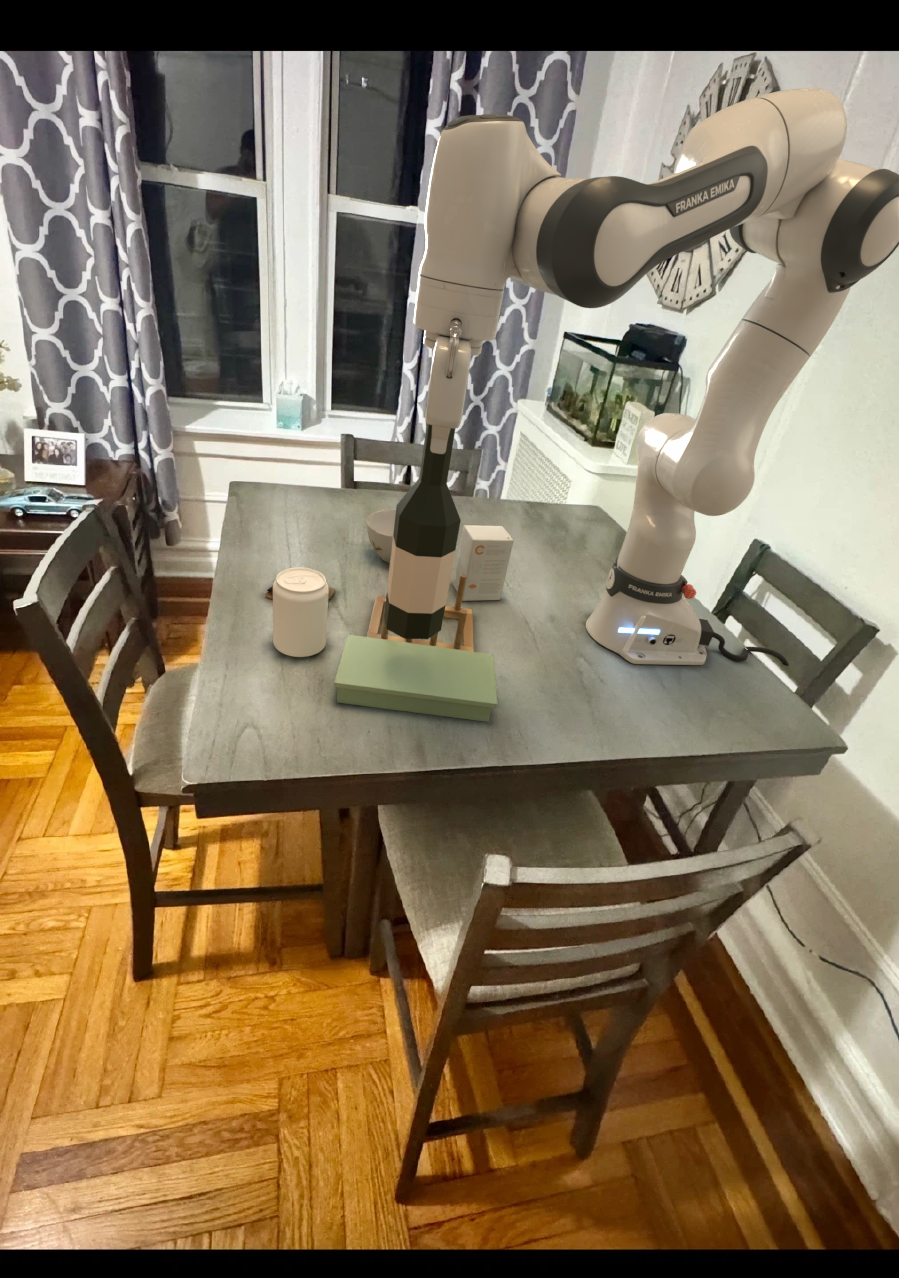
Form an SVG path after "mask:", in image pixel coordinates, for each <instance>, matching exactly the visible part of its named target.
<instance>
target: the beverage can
mask: <svg viewBox="0 0 899 1278" xmlns="http://www.w3.org/2000/svg"><path fill="white" fill-rule="evenodd" d="M272 586H273V600H272V641H273V642H272V643H273V646H274V647H275V649H276V650H277V651H279V653H281V654H283V655H286V656H288V657H289V656H290V657H294V658H306V657H307V658H308V657H311V656H314V655H316V654H317V655H318V654H319V653H320V652H322V651H323V649H325V647H326V644H327V630H328V609H329V608H328V607H329V600H328V594H329V587H330V586H329V585H328V582H327V579H326V577H325V575H324V574H323V573H321V572H320V571H318V570H316V569H313V568H308V567H302V566H301V567H299V566H298V567H297V566H296V567H289V568H286V569H283V570H281V571H280V572H278V573H277V575H276V577H275V579H274V582H273V584H272Z"/></svg>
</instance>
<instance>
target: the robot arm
mask: <svg viewBox="0 0 899 1278" xmlns="http://www.w3.org/2000/svg"><path fill="white" fill-rule="evenodd" d="M847 130H848V121H847V114H846V111H845V107H844V105H843V103H842V102H841V100H840V98H839V97H838V96H837V95H835V94H834V93H833V92H831V91H829V90H827V89H824V88H819V87H818V88H817V87H813V88H810V87H806V88H805V87H804V88H801V87H800V88H790V89H784V90H778V91H774V92H770V93H765V94H761V95H758V96H754V97H750V98H747V99H744V100H741V101H739V102H736V103H733V104H731V105H729V106H727V107H724V108H722V109H720V110H718V111H716V112H715V113H713V114H711V115H710V116H708V117H706V118H705V119H703V120H701V121H700V122H699V123H697V124H695V125H694V126H693V127H692V128H691V129H690V130H689V132H688V134H687V135H686V137H685V138H684V140H683V142H682V144H681V146H680V148H679V151H678V153H677V156H676V160H675V162H674V163H675V164H674V167H673V174H671V175H669V176H665V177H664V178H661V179H659V180H656V181H654V182H651V183H648V184H646V183H643V182H641V181H637V180H634V179H632V178H628V177H624V176H619V175H611V176H609V175H607V176H595V177H590V178H587V177H561V176H562V174H561V173H560V172H559V171H557V170H556V169H555V168H554V167H553V166H552V165H550V163H549V162H548V161H547V160H546V159H545V158H544V157H543V155H542V154H541V153H540V151H538V149H537V147H536V146H535V144H534V143H533V141H532V139H531V138H530V136H529V134H528V131H527V128H526V124H525V122H524V121H523V119H520V118H519V117H517V116H515V115H510V114H503V113H502V114H501V113H488V114H487V113H484V114H477V115H476V114H470V115H461V116H458V117H455V118H454V119H452V120H450V121H449V122H448V123H447V124H446V125H445V126H444V127H443V128H442V131H441V132H440V135H439V138H438V140H437V143H436V148H435V152H434V155H433V161H432V166H431V170H430V177H429V183H428V190H427V197H426V203H425V204H426V205H425V213H424V233H425V248H424V249H425V250H424V254H423V258H422V260H421V263H420V266H419V270H418V277H417V288H416V295H415V306H414V314H413V315H414V316H413V325H414V327H416V328H418V329H419V330H422V331H424V333H423V342H422V343H423V345H424V346H425V347H427V348H429V349H431V366H430V373H429V374H430V375H429V381H428V391H427V398H426V405H425V414H424V416H425V419H424V420H425V423H426V425H427V424H430V425H432V438H431V446H430V450H431V452H432V453H437V454H444V453H445V452H446V447H447V441H448V436H449V433H450V429H451V428H454V429H455V430H457V429H458V428H459V427H460V426H461V423H462V420H463V414H464V407H465V401H466V395H467V389H468V388H467V387H468V380H469V374H470V368H471V359H472V357H473V356H479V355H481V354H482V350H483V344H484V342H489V341H493V340H495V339H496V338H497V332H498V327H499V321H500V316H501V310H502V309H501V308H502V303H503V299H504V298H503V297H504V293H505V289H506V288H505V287H506V283H507V280H508V279H511V280H512V281H514V282H516V283H518V284H521V285H523V286H526V287H529V288H532V289H534V290H537V291H541V292H544V293H547V294H549V295H554V296H557V297H559V298H561V299H563V300H565V301H567V302H568V303H571V304H573V305H575V306H578V307H581V308H584V309H598V308H602V307H606V306H608V305H611V304H613V303H615V302H616V301H618V300H619V299H621V298H622V297H623V296H624V295H625V294H627V293H628V292H629V291H630V290H632V288H633V287H634V286H635V285H636V284H637V283H638V282H640V281H641V280H642V278H644V277H645V276H646V275H647V274H648V273H650V272H651V270H653V269H654V268H656V267H657V266H658V265H660V264H662V263H663V262H665V261H667V260H669V259H670V258H673V257H675V256H676V255H678V254H681V253H682V252H684V251H687V250H689V249H691V248H693V247H696V246H697V245H699V244H701V243H704V242H706V241H708V240H711V239H712V238H713V237H716V236H718V235H720V234H722V233H724V232H726V231H728V230H729V234H730V237H731V239H732V240H733V241H734V242H735V244H737V245H738V246H739V247H740V248H742V249H743V250H745V251H747V252H748V253H750V254H757V255H759V256H761V257H763V258H766V259H767V260H770V261H772V262H775V263H776V266H775V267H776V268H775V271H774V274H773V276H772V278H771V279H770V280H769V282H768V283H767V284H766V285H765V287H763V289H762V291H761V292H760V293H759V294H758V295H757V297H755V299H754V300H753V302H752V303H751V304H750V306H749V307H748V309H747V310H746V312H745V314H743V316H742V318H741V320H739V322H738V324H737V325H736V327H735V328H734V330H733V331H732V333H731V334H730V335H729V337H728V339H727V340H726V341H725V343H724V345H723V346H722V347H721V349H720V351H719V352H718V354H717V356H716V357H715V358H714V360H713V362H712V363H711V364H710V366H709V368H708V370H707V372H706V376H705V391H704V396H703V400H702V403H701V406H700V408H699V411H698V413H697V416H696V418H695V417H693V416H691V415H688V414H683V413H675V412H664V413H660V414H657V415H655V416H653V417H652V418H650V419H649V420H648V421H647V422H646V423H645V424H644V425H643V426H642V428H640V430H639V433H638V435H637V437H636V441H635V451H636V452H635V453H636V457H637V469H636V470H637V471H636V480H635V489H634V496H633V504H632V512H631V516H630V519H629V520H630V521H629V524H628V527H627V531H626V533H625V536H624V540H623V542H622V546H621V548H620V551H619V554H618V556H616V558H615V559H614V561H613V564H612V566H611V568H610V570H609V572H608V576H607V579H606V583H605V589H604V592H603V594H602V596H601V598H600V600H599V601H598V604H597V605H596V607H595V608H594V610H593V612H592V613H591V615H589V617H588V618H587V619H586V621H585V629H586V631H587V633H588V634H589V636H590V637H591V638H592V639H593V640H594V641H595V642H597V643H598V644H599V645H601V646H603V647H604V648H606V649H608V650H610V651H612V652H614V653H616V654H618V655H620V656H621V657H622V658H623V659H624V660H626V662H627V661H628V662H629V663H631V664H633V665H667V666H668V665H671V666H704V665H705V663H706V659H707V656H708V653H707V648H706V646H707V647H709V646H710V643H711V642H712V640H713V638H714V639H716V640H717V641H718V646H717V647H718V651H719V652H720V653H721V654H722V655H723V656H725V657H726V658H728V659H730V660H734V661H737V662H738V661H739V662H743V661H747V659H748V658H749V653H762V654H767V655H770V656H772V657H775V658H776V659H778V660H779V661H780V662H781V664H782V665H783V666H786V667H789V666H790V663H789V662H788V660H787V658H786V657H785V656H784V655H783V654H781V653H780V652H778V651H775V650H773V649H771V648H767V647H761V646H746V648H747V649H748V650H746V649H745V647H743V648H742V650H741V651H742V652H741V655H738V654H734V653H732V652H730V651H728V650H727V649H726V648H725V645H726V640H725V639H724V637H723V636H722V635H721V634H719V633H717V632H715V631H714V629H713V627H712V625H711V624H710V622H709V620H708V619H705V618H700V617H699V616H698V614H697V613H696V611H695V610H694V609H693V607H692V606H691V605H690V603H689V602H688V600H692V599H693V598H695V597H696V596H697V590H696V589H695V588H694V586H693V584H689V583H688V580H687V578H686V577H685V576H684V575H682V574H683V571H684V569H685V566H686V564H687V562H688V559H689V557H690V555H691V552H692V550H693V548H694V546H695V543H696V539H697V538H696V537H697V528H696V523H695V522H696V521H695V512H696V513H698V514H701V515H704V516H708V517H717V516H722V515H726V514H728V513H730V512H732V511H734V510H736V509H737V508H738V507H739V506H740V505H742V503H744V502H745V500H746V499H747V498H748V496H749V495H750V494H751V491H752V489H753V487H754V484H755V478H756V477H755V476H756V472H755V471H756V470H755V457H756V452H757V449H758V446H759V443H760V440H761V438H762V435H763V433H764V430H765V428H766V425H767V423H768V421H769V419H770V417H771V415H772V413H773V411H774V409H775V408H776V406H777V405H778V403H779V401H780V400H781V399H782V397H783V396H784V394H785V393H786V392H787V390H788V389H789V387H790V386H791V384H792V383H793V382H794V381H795V379H796V378H797V376H798V374H799V373H800V372H801V371H802V369H803V368H804V367H805V365H806V364H807V362H808V361H809V360H810V358H811V357H812V356H813V354H814V352H815V351H816V350H817V348H818V347H819V345H820V344H821V342H822V341H823V339H824V338H825V336H826V335H827V333H828V331H829V330H830V328H831V326H832V325H833V324H834V321H835V320H836V318H837V316H838V315H839V312H840V311H841V309H842V307H843V305H844V304H845V302H846V299H847V297H848V295H849V293H850V290H851V287H853V286H854V285H856V284H857V283H858V282H860V281H861V280H862V279H864V278H866V277H867V276H868V275H870V274H872V272H874V271H875V270H876V269H878V268H879V267H880V266H881V265H882V264H884V263H885V262H886V261H887V260H888V258H890V257H891V256H892V255H893V253H894V252H895V251H896V250H897V248H898V247H899V173H897V172H895V171H892V170H891V169H888V168H879V169H877V168H874V167H871V166H868V165H866V164H863V163H859V162H856V161H852V160H848V159H843V158H840V156H841V154H842V152H843V149H844V146H845V143H846V138H847V132H848V131H847ZM687 599H688V600H687Z"/></svg>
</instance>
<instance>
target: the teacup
mask: <svg viewBox="0 0 899 1278" xmlns="http://www.w3.org/2000/svg"><path fill="white" fill-rule="evenodd" d="M395 515H396V509H383V510H382V509H381V510H377V511H375V512H371V513H369V515H367V517H366V518H365V521H366V522H365V523H366V529H367V530H366V532H367V535H368V540H369V542H370V544H371V546H372V548H373V549H374V551H375V552H376V554H377V555H378V556H379V557H380V559H381V560H382V561H384V562H385V563H389V564H390V559H391V551H392V542H393V533H394V524H395Z"/></svg>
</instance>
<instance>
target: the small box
mask: <svg viewBox="0 0 899 1278" xmlns="http://www.w3.org/2000/svg"><path fill="white" fill-rule="evenodd" d="M514 542H515V541H514V539H513V538H512V536H511V534H509V532H508V531H507V530H506V529H505V528H504V526H503V525H469V524H465V525H463V526H462V531H461V538H460V544H459V548H458V549H459V550H458V554H457V559H456V560H457V561H456V567H455V573H454V578H453V583H452V585H453V588H454V589H455V591H456V592H457V591H458V586H459V581H460V576H461V575H462V574H464V575H466V576H467V578H466V583H465V588H464V593H463V598H462V602H469V601H471V602H472V601H474V602H475V601H500V600H501V597H502V592H503V589H504V584H505V581H506V576H507V571H508V567H509V563H510V559H511V554H512V550H513V544H514Z"/></svg>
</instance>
